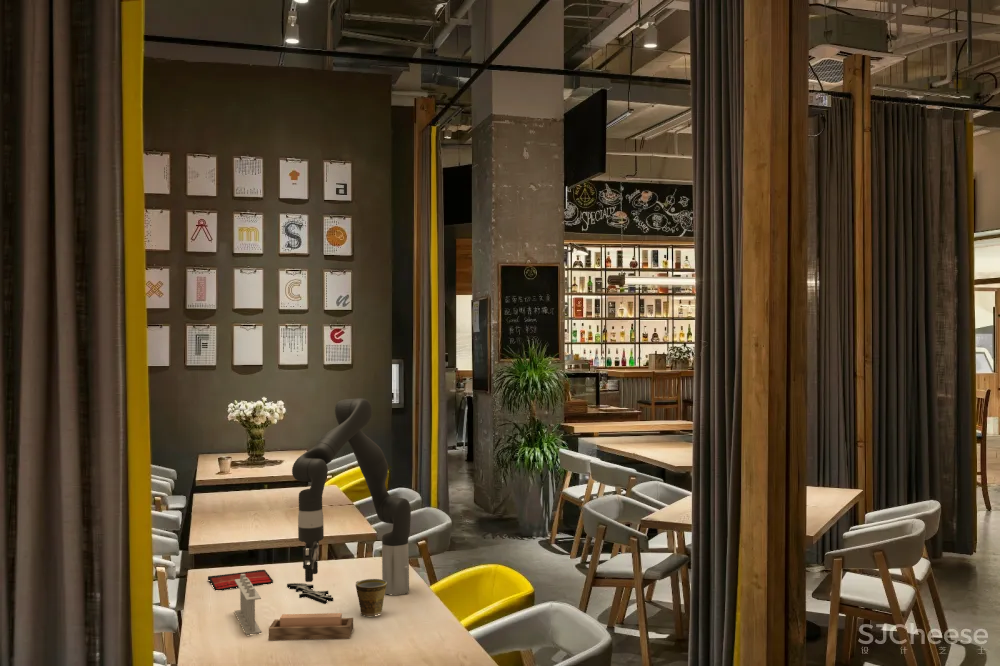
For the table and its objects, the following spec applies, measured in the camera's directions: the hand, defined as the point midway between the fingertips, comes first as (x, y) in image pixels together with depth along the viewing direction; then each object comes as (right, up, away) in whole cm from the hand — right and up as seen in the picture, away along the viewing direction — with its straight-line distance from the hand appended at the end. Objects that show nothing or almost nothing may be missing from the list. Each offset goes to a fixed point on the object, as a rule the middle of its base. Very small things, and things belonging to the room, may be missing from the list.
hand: (311, 577), depth 268 cm
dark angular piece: (-10, -18, +42) cm, 47 cm away
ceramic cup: (+14, -17, +20) cm, 30 cm away
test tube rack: (-23, -18, +11) cm, 31 cm away
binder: (-39, -19, +58) cm, 72 cm away
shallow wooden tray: (0, -17, 0) cm, 17 cm away
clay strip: (0, -16, 0) cm, 16 cm away
